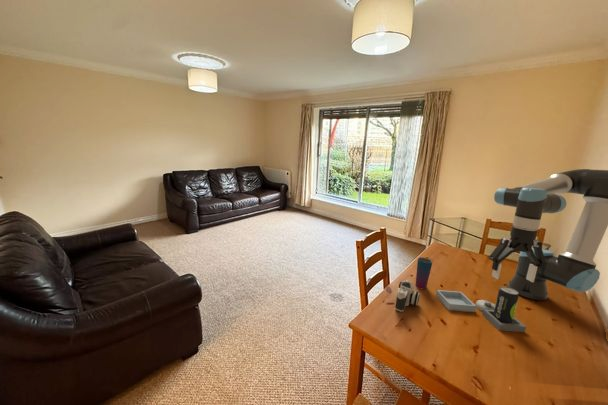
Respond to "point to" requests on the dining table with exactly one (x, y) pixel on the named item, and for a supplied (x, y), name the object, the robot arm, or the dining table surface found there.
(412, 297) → the camera
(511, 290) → the beverage can
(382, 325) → the dining table surface
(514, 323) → the grey square frame
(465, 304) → the tray
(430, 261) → the cup
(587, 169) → the robot arm
